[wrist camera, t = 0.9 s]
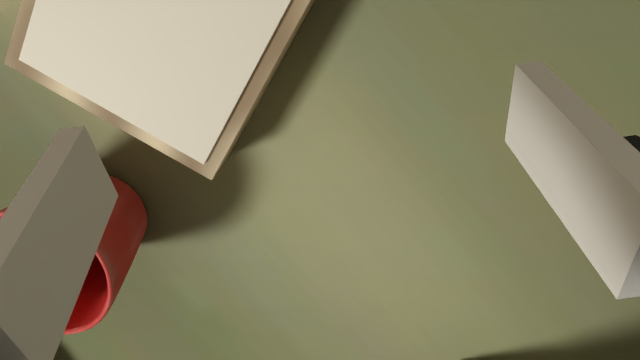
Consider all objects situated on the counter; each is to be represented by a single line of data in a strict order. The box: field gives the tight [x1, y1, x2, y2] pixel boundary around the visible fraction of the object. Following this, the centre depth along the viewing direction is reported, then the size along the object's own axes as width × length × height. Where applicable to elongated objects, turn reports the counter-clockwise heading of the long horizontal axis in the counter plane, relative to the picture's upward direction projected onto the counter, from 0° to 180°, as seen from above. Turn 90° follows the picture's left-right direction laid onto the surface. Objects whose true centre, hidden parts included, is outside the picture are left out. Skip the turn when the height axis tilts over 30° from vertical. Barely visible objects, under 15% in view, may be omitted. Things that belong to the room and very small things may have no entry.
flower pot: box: [0, 175, 147, 334], centre depth 39 cm, size 11×11×10 cm
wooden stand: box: [4, 0, 315, 180], centre depth 33 cm, size 16×16×5 cm
